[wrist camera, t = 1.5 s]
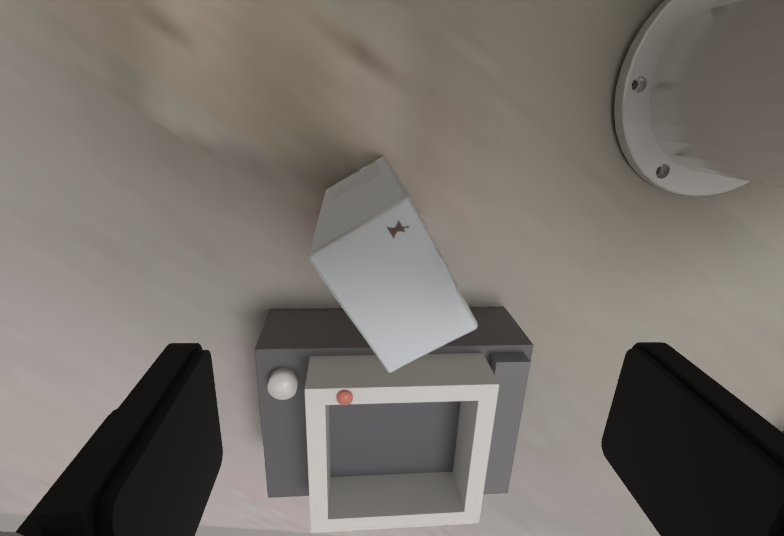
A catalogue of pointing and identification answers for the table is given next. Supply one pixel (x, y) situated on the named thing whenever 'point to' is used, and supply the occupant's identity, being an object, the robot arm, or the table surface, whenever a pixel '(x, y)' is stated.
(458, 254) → the table surface
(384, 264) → the skincare box
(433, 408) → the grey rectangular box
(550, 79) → the table surface
